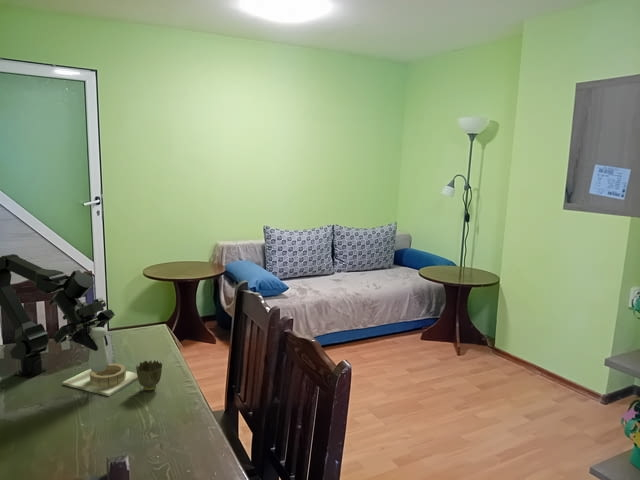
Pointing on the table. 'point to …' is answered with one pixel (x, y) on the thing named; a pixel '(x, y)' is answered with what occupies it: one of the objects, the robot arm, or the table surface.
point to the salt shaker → (98, 351)
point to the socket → (103, 380)
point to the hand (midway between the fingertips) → (102, 347)
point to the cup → (149, 374)
